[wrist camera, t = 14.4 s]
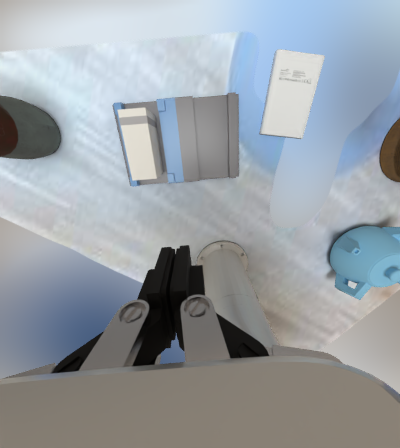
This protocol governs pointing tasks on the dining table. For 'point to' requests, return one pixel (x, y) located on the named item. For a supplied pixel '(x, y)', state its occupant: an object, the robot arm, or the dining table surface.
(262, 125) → the external hard drive
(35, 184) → the dining table surface
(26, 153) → the bottle
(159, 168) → the block
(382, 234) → the teapot
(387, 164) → the wooden container
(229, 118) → the board
